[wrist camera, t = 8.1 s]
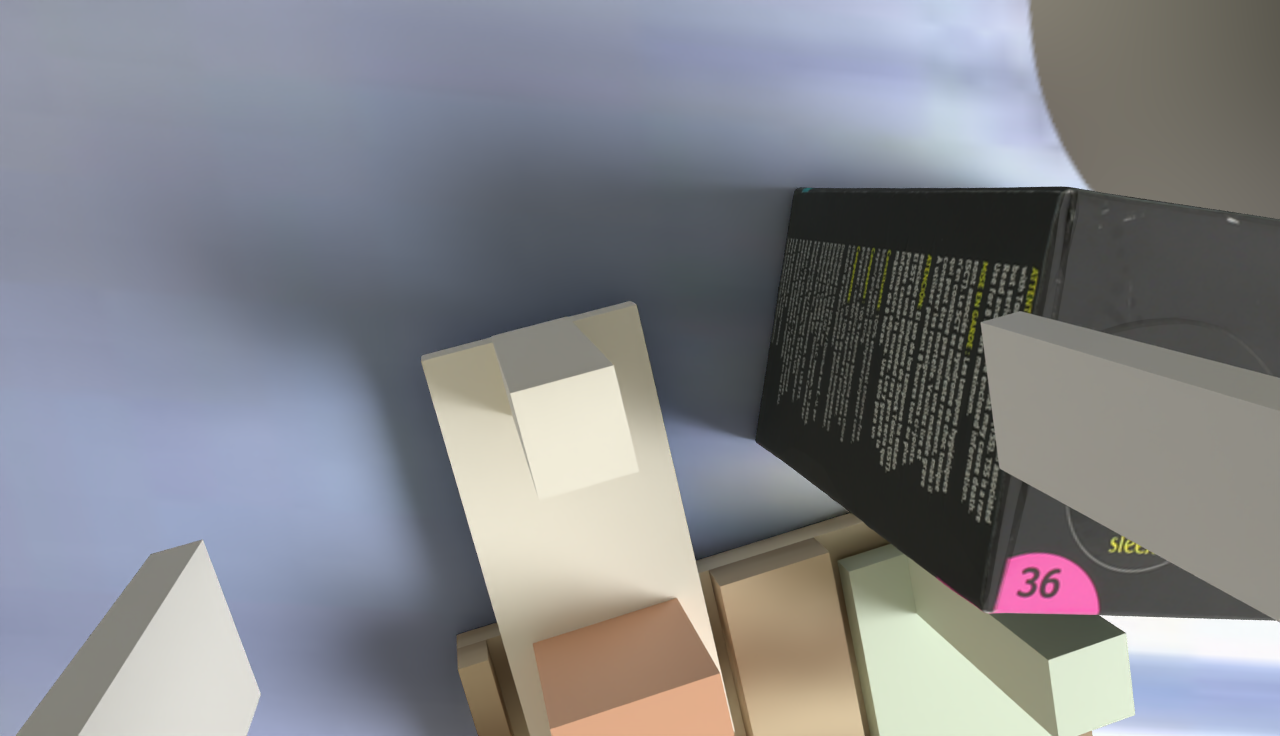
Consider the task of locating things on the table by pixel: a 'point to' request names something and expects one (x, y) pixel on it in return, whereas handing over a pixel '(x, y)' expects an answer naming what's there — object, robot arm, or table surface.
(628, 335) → the strip cream
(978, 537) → the tampon box
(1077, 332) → the robot arm
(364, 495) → the table surface
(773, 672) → the lane board
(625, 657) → the cube
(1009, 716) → the pale green l-shaped bracket
